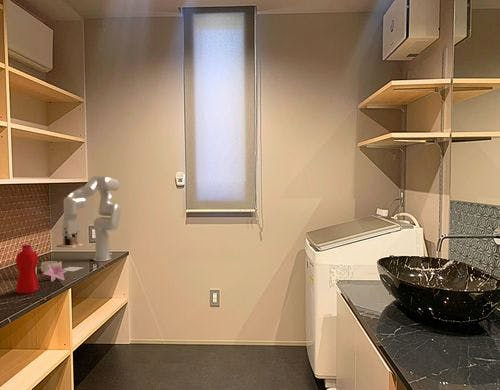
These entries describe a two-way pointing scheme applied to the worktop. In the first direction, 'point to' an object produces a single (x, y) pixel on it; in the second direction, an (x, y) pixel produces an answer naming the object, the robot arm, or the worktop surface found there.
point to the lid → (71, 243)
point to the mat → (73, 268)
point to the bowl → (47, 265)
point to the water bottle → (27, 270)
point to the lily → (55, 271)
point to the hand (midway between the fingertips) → (70, 244)
